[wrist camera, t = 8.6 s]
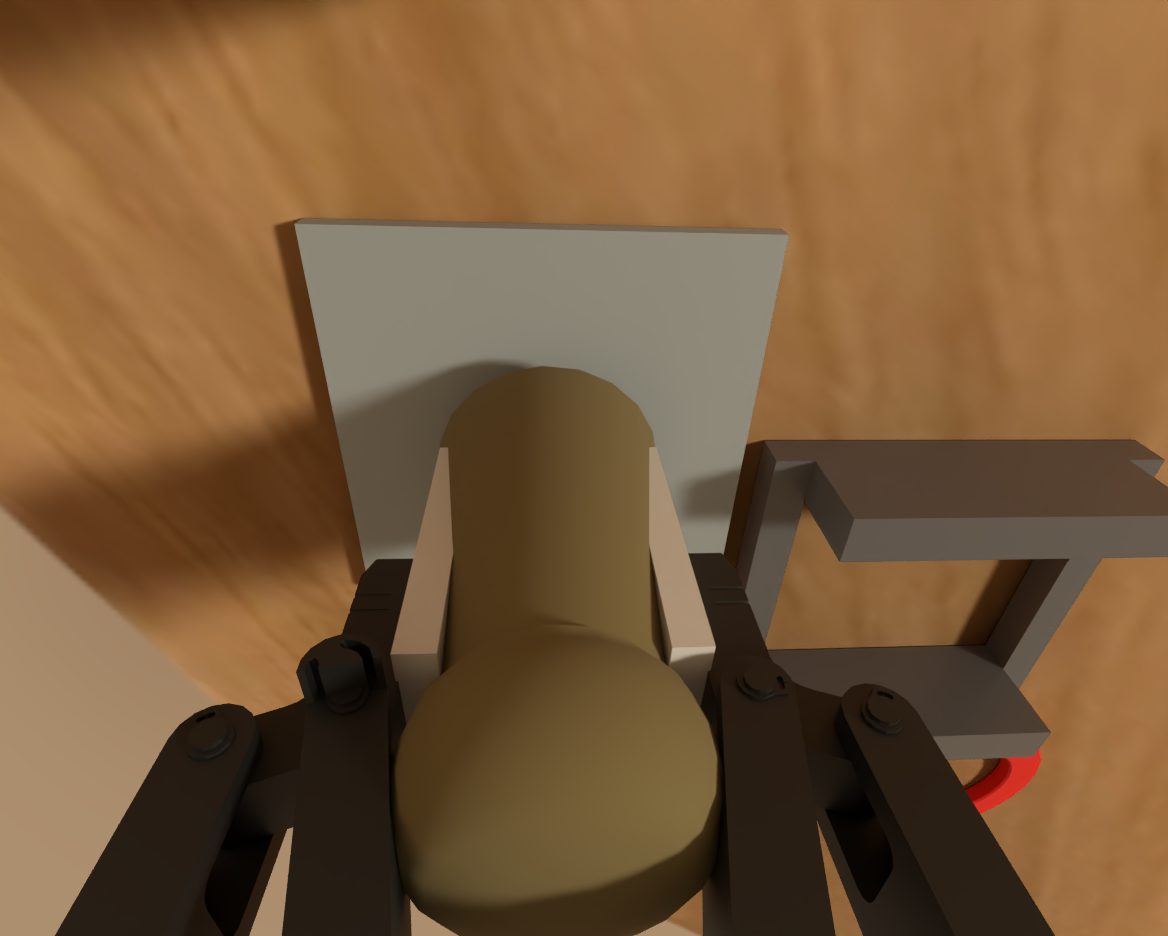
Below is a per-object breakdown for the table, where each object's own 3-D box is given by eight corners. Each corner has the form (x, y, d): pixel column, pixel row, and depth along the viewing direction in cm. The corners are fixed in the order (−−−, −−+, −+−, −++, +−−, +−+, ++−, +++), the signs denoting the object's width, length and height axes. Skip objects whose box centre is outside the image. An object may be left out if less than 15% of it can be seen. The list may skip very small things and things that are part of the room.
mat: (713, 574, 23) (716, 586, 23) (373, 580, 22) (369, 592, 22) (781, 229, 16) (789, 234, 16) (302, 218, 16) (294, 223, 15)
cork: (397, 411, 17) (223, 866, 7) (619, 333, 16) (734, 734, 7) (492, 571, 20) (454, 1026, 11) (680, 513, 19) (814, 951, 10)
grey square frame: (998, 668, 27) (1063, 755, 24) (711, 676, 26) (737, 768, 23) (1135, 440, 21) (1248, 515, 18) (764, 440, 20) (810, 519, 17)
